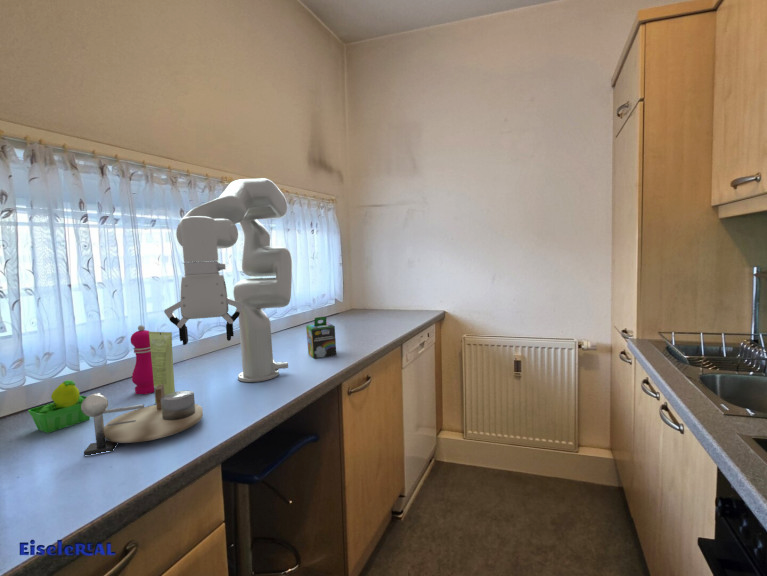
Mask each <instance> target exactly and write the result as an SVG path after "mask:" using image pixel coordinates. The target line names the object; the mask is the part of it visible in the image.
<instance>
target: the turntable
mask: <svg viewBox="0 0 767 576" xmlns="http://www.w3.org/2000/svg"><path fill="white" fill-rule="evenodd" d="M155 393H156V403H157V404H156V403H155V405H154V404H153V405H148V406H144V408H141V409H134V410H130V411H129V412H128V411H127V412H125V413H123V414H120V415H118V416H116V417H114V418H113V419H111V420H109V421H108V422H107V423H106V424H104V431H105V440H106V441H112V442H118V444H119V443H121V444H123V443H124V444H129V443H131V444H133V443H141V442H148V441H149V442H150V441H154V440H157V439H163V438H165V437H169V436H172V435H175V434H179V433H181V432H183V431H185V430H188V429H190V428H192V427H193V426H195V425H197V423H199V422H200V421H201V420H202V419H203V416H204V413H203V408H202V406H201V405H199V404H198V403H197V404H196V403H195V411H196V412H195V413H194V414H193V415H191V416H189V417H187V418H184V419H179V420H164V419H163V418H162V409H161V397H162V396H164V395H165V394H164V384H162V385H158V386H157V388H156V389H155ZM155 393H154V394H155Z"/></svg>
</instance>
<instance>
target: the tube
mask: <svg viewBox="0 0 767 576" xmlns="http://www.w3.org/2000/svg"><path fill="white" fill-rule="evenodd" d="M149 338H150V348H151V358H152V369H153V381H154V393H153V394H154V402H155V405H157V403H156V393H155V389H156V388H157V386H158V385H162V384H164V394H165V395H166V394H169V393H173V392H176V391H175V390H176V388H175V376H174V375H175V373H174V358H173V356H174V355H173V333H172V331H166V332H165V331H150V332H149Z"/></svg>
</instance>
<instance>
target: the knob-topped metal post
mask: <svg viewBox="0 0 767 576" xmlns="http://www.w3.org/2000/svg"><path fill="white" fill-rule="evenodd" d="M86 397H87V398H86V399H85V400H84V401H83V402H82V404H81V410H82V412H83V413H84V414H85V415H87V416H89V417H90V418H93V425H94V434H95V442H93V443H92V442H91V443H90V444H89V445H88V446H87V447H86V449H84V451H83V455H84V456H85V455H91V454H96V453H101V452H106V451H113V449H114V448H115V446H116V445H117V443H118V442H112V441H109V440H106V438H105V431H104V427H105V423H104V415H103V414H111V413H118V412H126V411H127V412H128V411H133V410H137V409H141V408H144V407H145V404H137V405H131V406H130V405H129V406H124V407H123V406H122V407H115V408H110V409H109V408H108V406H109V400H108V398H107V397H106V396H105V395H103V394H101V392H93V393H92V394H89V395H88V396H86ZM118 444H119V443H118ZM117 446H118V445H117ZM117 446H116V447H117ZM115 449H116V448H115ZM115 449H114V450H115ZM113 452H114V451H113ZM91 456H92V455H91ZM85 457H86V456H85Z"/></svg>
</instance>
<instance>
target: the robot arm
mask: <svg viewBox="0 0 767 576" xmlns="http://www.w3.org/2000/svg"><path fill="white" fill-rule="evenodd" d="M287 212H288V202H287V199H286V196H285V194H284V193H283V192H282V191H281V189H279V187H278V185H277V184H275V182H274V181H272V180H271V179H268V178H264V177H261V178H242V179H236V180H233V181H231V182H229V184H228V185H227V187H226V188H225V189H224V190H223V192H222V193H221V194H220V195H219V196H218V197H217V198H215V199H212V200H210V201H207V202H206V203H203V204H201V205H198V206H196V207H193V208H192V209H191V210H189V211H188V212H187V213H185V215H183V217H182V218H181V219H180V221H179V223H178V225H177V227H176V234H175V235H176V236H175V237H176V239H177V242H178V243H179V245H180V247H182V255H183V267H184V276H182V277H181V281H180V301H177V302H176V303H175V304H172V306H169V307H167V308H166V309H165V310H164V311H163V312H164V314H165V315H166V317H167V318H168V320H169V321H170V323H172V324H173V325H175V327H176V328H178V333H179V341H180V342H182V345H183V346H186V345H187V344H189V335H188V334H189V333H188V326H187V325H186V324H187V322H188V321H189V320H197V319H199V320H200V319H209V318H221V317H222V319H223V320H224V321H226V324H225V330H226V331H225V332H226V340H227V342H229V341H231V340H232V337H234V334H235V333H234V322H235V321H236V320H237V319H238V326H239V341H240V351H241V353H240V354H241V364H242V372H240V373H238V375H237V378H238V381H241V382H243V383H244V382H245V383H258V382H264V381H268V380H272V379H275V378H276V377H278V376H279V374H280V371H279V370H280V369H281V370H282V369H289V363H288V361H287V362H284V361H279V362H276V361H275V360H274V355H273V342H272V341H273V340H272V326H271V325H272V324H271V320H270V318H269V316H268V314H267V313H266V312H265V311H264V310H263V309H275V308H276V309H277V308H285V307H287V306H288V305H289V304H290V301H291V299H292V297H291V296H292V285H293V284H292V281H293V279H292V278H293V258H292V254H291V252H290V250H289V249H288V248H287V247H285V246H271V234H270V232H269V231H268V229H267V228H266V227H265V226H264V225H263V224H262V223H261V222H260V221H259V220H272V219H273V220H275V219H276V220H277V219H282V218H284V217H285V216H286V215H287ZM236 224H239V226H240V229H241V230H242V235H243V243H242V254H241V255H242V256H241V269H242V273H243V274H245V276H248V277H255V278H244V279H241V280H239V281H238V282H236V283H235V284H234V287H233V298H234V299H232V298H229V297H228V292H227V286H226V281H225V277H224V274H221V271H223V270H226V269H227V268H226V267H227V266H226V263H221V262H220V261H219V249H227V248H228V249H229V248H232V246H234V245H235V244H236V243H237V241H238V239H239V230H238V227H237V225H236ZM259 277H260V278H259ZM229 305H230V306H233V307H235V308H236V309H235V312H234V313H233V314H232V315H231V314H230V313H228V312H229ZM178 309H180V315H181V316H182V317H181V319H179V318H178V317H177V316H176V315H175V314H174V312H175V311H176V310H178Z"/></svg>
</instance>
